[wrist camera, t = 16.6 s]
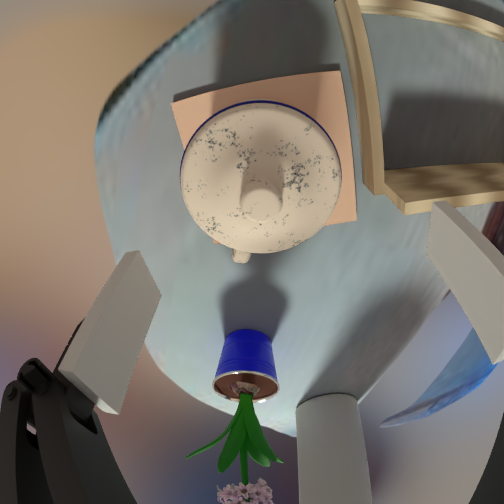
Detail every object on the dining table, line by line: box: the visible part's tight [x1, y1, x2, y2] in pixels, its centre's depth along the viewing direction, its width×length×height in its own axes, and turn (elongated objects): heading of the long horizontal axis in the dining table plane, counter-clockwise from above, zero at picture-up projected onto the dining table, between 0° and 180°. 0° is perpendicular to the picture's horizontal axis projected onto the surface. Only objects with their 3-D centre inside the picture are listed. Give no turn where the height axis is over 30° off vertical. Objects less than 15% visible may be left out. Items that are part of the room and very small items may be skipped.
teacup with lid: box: [180, 98, 342, 263], centre depth 18 cm, size 12×9×12 cm
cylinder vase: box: [296, 394, 373, 504], centre depth 38 cm, size 12×12×25 cm
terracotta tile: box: [171, 71, 357, 244], centre depth 23 cm, size 14×14×1 cm
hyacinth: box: [185, 329, 284, 504], centre depth 24 cm, size 9×10×30 cm
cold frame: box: [334, 0, 504, 215], centre depth 15 cm, size 24×17×7 cm
